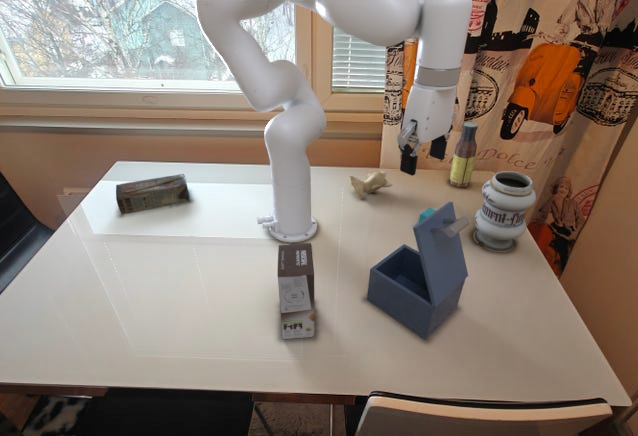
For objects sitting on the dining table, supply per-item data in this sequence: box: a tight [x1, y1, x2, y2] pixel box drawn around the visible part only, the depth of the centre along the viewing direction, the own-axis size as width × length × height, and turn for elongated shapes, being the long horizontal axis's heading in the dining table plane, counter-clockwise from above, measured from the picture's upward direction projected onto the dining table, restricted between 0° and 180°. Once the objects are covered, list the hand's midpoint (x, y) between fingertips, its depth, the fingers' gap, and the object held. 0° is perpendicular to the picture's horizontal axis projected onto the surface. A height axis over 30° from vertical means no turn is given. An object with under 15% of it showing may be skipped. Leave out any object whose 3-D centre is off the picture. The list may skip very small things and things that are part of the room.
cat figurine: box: [349, 170, 393, 200], centre depth 117 cm, size 8×7×12 cm
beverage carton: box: [115, 173, 191, 216], centre depth 112 cm, size 8×19×7 cm, turn 113°
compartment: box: [366, 243, 467, 341], centre depth 79 cm, size 15×12×9 cm
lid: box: [412, 201, 470, 307], centre depth 68 cm, size 15×12×5 cm
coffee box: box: [277, 242, 316, 340], centre depth 73 cm, size 9×6×16 cm
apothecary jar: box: [472, 170, 537, 253], centre depth 94 cm, size 12×12×18 cm
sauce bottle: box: [449, 121, 479, 189], centre depth 118 cm, size 7×6×20 cm
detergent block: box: [418, 207, 437, 224], centre depth 102 cm, size 4×4×4 cm
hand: (422, 165), depth 77 cm, fingers open, 9 cm apart
